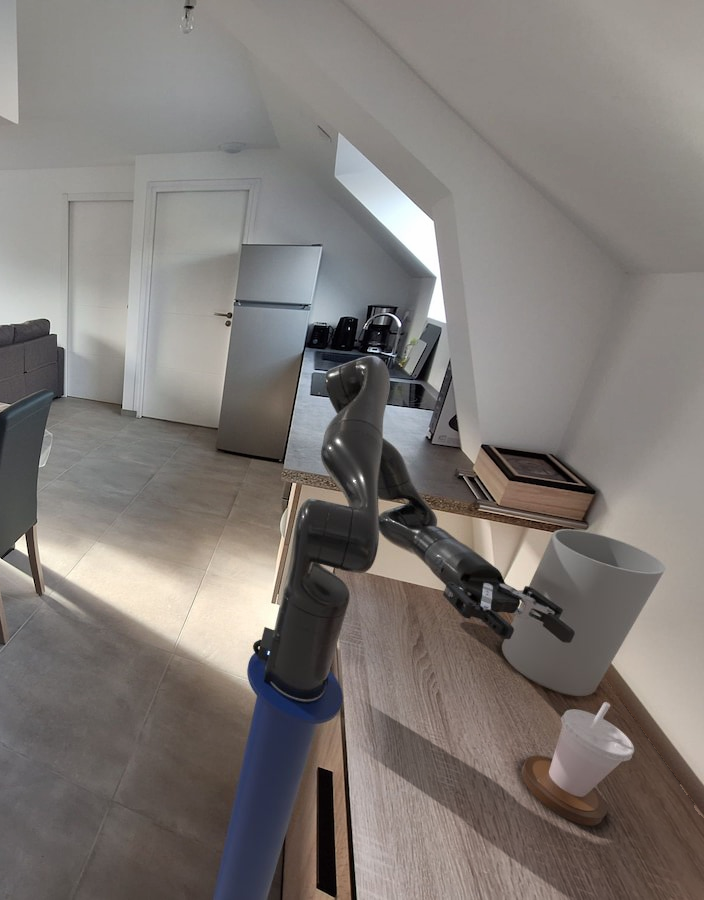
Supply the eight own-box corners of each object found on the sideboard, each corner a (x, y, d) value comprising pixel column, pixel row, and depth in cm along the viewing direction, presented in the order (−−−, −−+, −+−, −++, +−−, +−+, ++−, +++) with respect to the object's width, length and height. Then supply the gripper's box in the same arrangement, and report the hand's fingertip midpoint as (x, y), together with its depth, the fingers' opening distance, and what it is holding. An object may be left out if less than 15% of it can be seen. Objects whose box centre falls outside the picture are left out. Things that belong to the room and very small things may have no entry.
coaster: (531, 805, 59) (536, 797, 59) (513, 752, 66) (517, 745, 65) (614, 838, 56) (620, 830, 55) (586, 779, 63) (591, 772, 62)
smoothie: (529, 750, 65) (568, 676, 60) (589, 772, 62) (635, 697, 57) (544, 791, 59) (589, 714, 54) (611, 818, 57) (664, 739, 52)
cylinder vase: (492, 633, 89) (541, 522, 80) (576, 658, 84) (639, 542, 75) (511, 679, 78) (569, 557, 69) (608, 711, 73) (685, 583, 64)
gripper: (494, 588, 81) (579, 659, 66) (414, 584, 81) (480, 653, 66) (509, 553, 78) (602, 618, 63) (426, 548, 79) (498, 612, 64)
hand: (539, 636), depth 65 cm, fingers open, 8 cm apart
